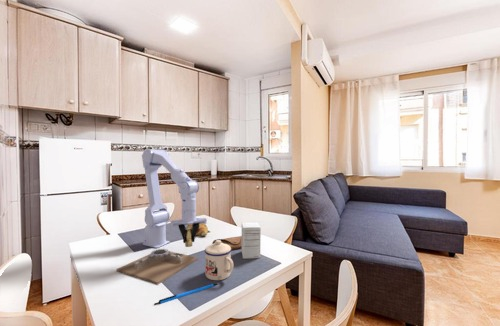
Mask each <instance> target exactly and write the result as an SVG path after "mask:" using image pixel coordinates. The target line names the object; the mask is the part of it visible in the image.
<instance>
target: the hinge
mask: <svg viewBox="0 0 500 326" xmlns="http://www.w3.org/2000/svg"><path fill="white" fill-rule="evenodd" d="M169 251H170V250H168V249H166V248H157V249H155V250H152V251H151V252H150V254H151V256H148V257H147V258H145V259H143V260H139V261H138V262H136V263H135V269H138V268H140V267H142V266H144V265H146V264H148V263H150V262H152V261H160V260H164V259H167V260H171V261H174V262H178V263H181V262H182V257H181V256H179V255H173V254H171V253H169Z"/></svg>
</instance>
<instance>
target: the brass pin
mask: <svg viewBox="0 0 500 326" xmlns="http://www.w3.org/2000/svg"><path fill="white" fill-rule="evenodd" d="M192 230H193V229H192V228H186V227H185V243H184V247H186V248H190V247H193V242H192Z"/></svg>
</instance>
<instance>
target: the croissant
mask: <svg viewBox="0 0 500 326" xmlns="http://www.w3.org/2000/svg"><path fill="white" fill-rule="evenodd" d="M186 227H187V228H192V224H190V225H187V226H186ZM208 233H209V229H208V227H207V225H206V224H204V223H202V224H199V229H198V231H197V233H196V236H201V237H206V236H207V235H208Z"/></svg>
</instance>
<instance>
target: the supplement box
mask: <svg viewBox="0 0 500 326" xmlns="http://www.w3.org/2000/svg"><path fill="white" fill-rule="evenodd" d="M261 235H262V234H261V225H260V224H259V222H258V221H257V222H255V221H252V222H241V236H242V246H241V247H242V249H241V254H242V259H260V258H261Z"/></svg>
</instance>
